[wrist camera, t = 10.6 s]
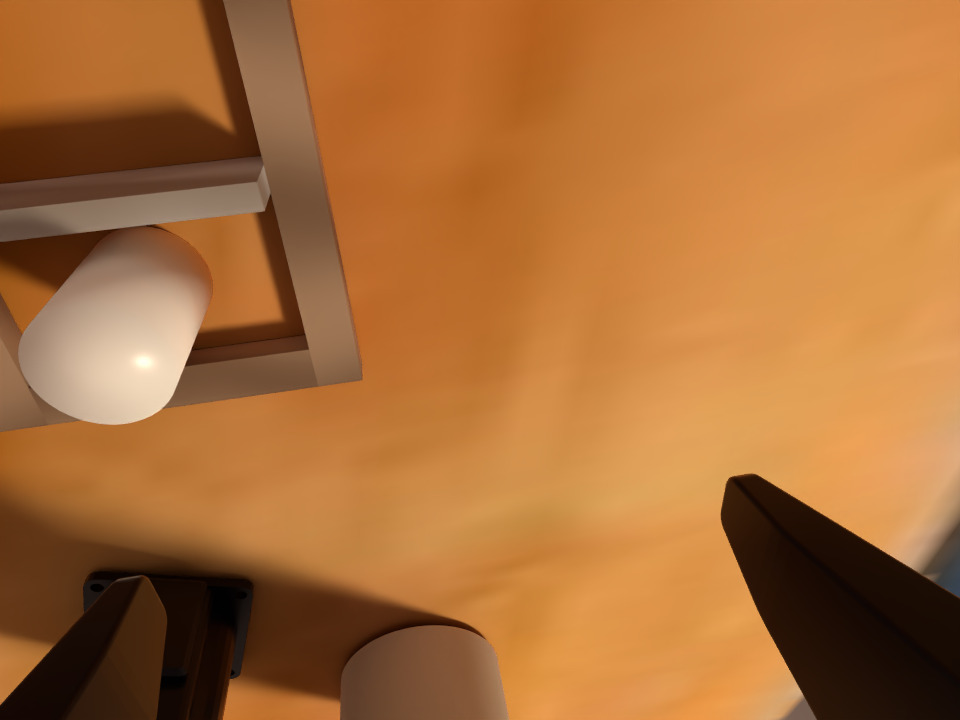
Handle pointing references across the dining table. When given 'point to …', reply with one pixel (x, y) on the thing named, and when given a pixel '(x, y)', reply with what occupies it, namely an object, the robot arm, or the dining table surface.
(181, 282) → the cylinder
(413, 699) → the travel mug
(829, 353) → the dining table surface
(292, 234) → the ladder
